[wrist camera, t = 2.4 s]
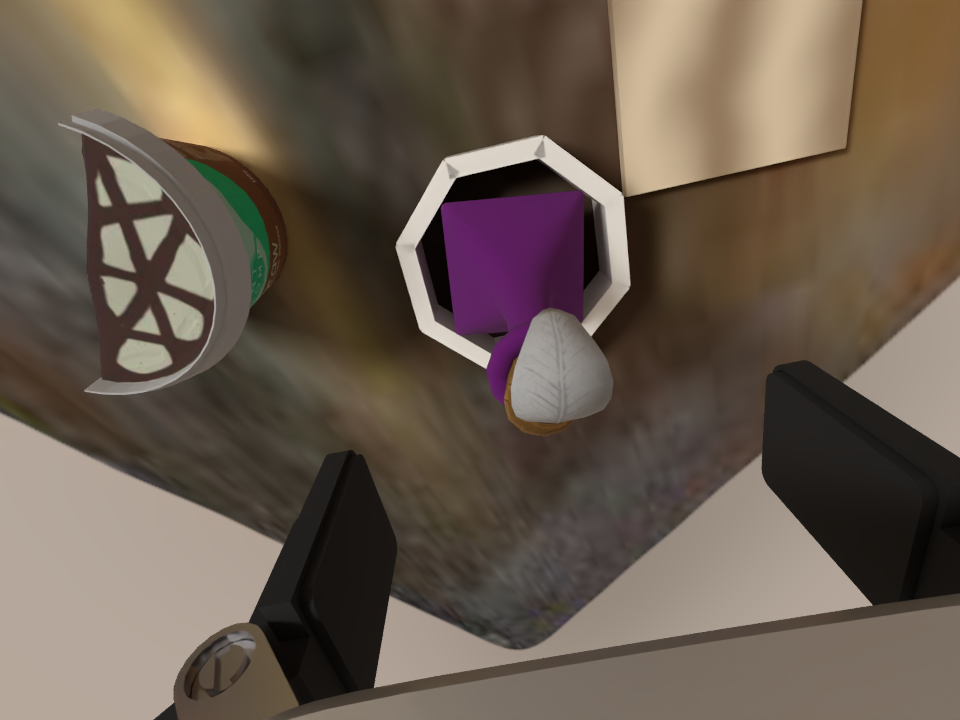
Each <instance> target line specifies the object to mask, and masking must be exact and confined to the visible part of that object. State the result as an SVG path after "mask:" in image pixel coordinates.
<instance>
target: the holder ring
mask: <svg viewBox="0 0 960 720" xmlns="http://www.w3.org/2000/svg"><path fill="white" fill-rule="evenodd" d="M534 159H537V160H538V161H539V162H541V163H542V164H544V165H545V166H546V167H548V168H549V169H550V170H552V171H553V172H555V173H556V174H557V175H559V176H560V177H561V178H563V179H564V180H566V181H567V182H568V183H570V184H571V185H572V186H574V187H575V188H577V189H578V190H579V191H582V192H583V193H584V194H585V195H586V196H588V197H589V198H590V199H592V205H593V215H594V224H595V234H596V243H597V252H598V262H599V271H598V273H597V274H596V275H595V277H594V278H593V279H592V281H591V282H590V283H589V284H588V286H587V287H586V288H585V290H584V291H583V322H582V326H583V327H584V328H585V329H586V331H587V332H588V333H589V335H590V336H592V334H593V333H594V332H595V331H596V330H597V328H598V327H599V326H600V325H601V323H602V322H603V321H604V320H605V318H606V317H607V316H608V315H609V313H610V312H611V311H612V310H613V308H614V307H615V306H616V305H617V303H618V302H619V301H620V300H621V298H622V297H623V296H624V295H625V293H626V292H627V291H628V290H629V287H628V286H630V273H629V260H628V247H627V235H626V222H625V209H624V196H623V195H621V194H622V193H621V192H620V191H618V190H617V189H616V188H614V187H613V186H612V185H610V184H609V183H608V182H606V181H605V180H604V179H602V178H601V177H600V176H598V175H597V174H596V173H594V172H593V171H592V170H590V169H589V168H588V167H586V166H585V165H584V164H582V163H581V162H580V161H578V160H577V159H576V158H574V157H573V156H572V155H570V154H569V153H567V152H566V151H565V150H563V149H562V148H561V147H559V146H558V145H557V144H555V143H554V142H553V141H551V140H550V139H549V138H547V137H546V136H543V135H536V136H531V137H527V138H523V139H519V140H514V141H510V142H506V143H502V144H498V145H493V146H489V147H485V148H481V149H477V150H472V151H468V152H464V153H460V154H456V155H451V156H448V157H446V158H445V159H444V160H443V161H442V163H441V164H440V166H439V168H438V170H437V172H436V173H435V175H434V177H433V179H432V180H431V182H430V184H429V186H428V188H427V189H426V191H425V193H424V195H423V196H422V198H421V200H420V202H419V204H418V205H417V207H416V209H415V211H414V213H413V214H412V216H411V218H410V220H409V221H408V223H407V225H406V227H405V229H404V230H403V232H402V234H401V236H400V237H399V239H398V241H397V243H396V246H395V247H396V250H397V254H398V257H399V261H400V264H401V267H402V271H403V274H404V278H405V281H406V284H407V288H408V291H409V295H410V298H411V302H412V305H413V308H414V312H415V315H416V319H417V322H418V325H419V329H420V330H421V332H423V333H425V334H426V335H428V336H430V337H432V338H433V339H435V340H437V341H439V342H440V343H442V344H444V345H446V346H447V347H449V348H451V349H453V350H454V351H456V352H458V353H460V354H461V355H463V356H465V357H467V358H468V359H470V360H472V361H474V362H475V363H477V364H479V365H481V366H482V367H484V368H487V365H488V362H489V359H490V357H491V354H492V351H493V348H494V346H495V343H496V342H498V341H499V340H500V339H501V338H502V337H503V336H500V337H495V338H494V337H492V336H490V335H489V334H475V335H464V336H461V335H457V333H456V332H455V324H454V315H453V313H452V312H450V311H448V310H447V309H445V308H443V307H442V306H440V305H438V302H437V298H436V295H435V291H434V287H433V283H432V280H431V276H430V272H429V268H428V265H427V261H426V257H425V254H424V250H423V246H422V242H421V238H422V236H423V234H424V232H425V231H426V229H427V227H428V225H429V224H430V222H431V220H432V219H433V217H434V215H435V213H436V212H437V210H438V208H439V207H440V205H441V203H442V201H443V200H444V198H445V196H446V194H447V193H448V191H449V189H450V188H451V186H452V184H453V182H454V181H455V179H456V178H458V177H462V176H466V175H470V174H475V173H479V172H483V171H487V170H492V169H496V168H500V167H505V166H509V165H513V164H517V163H522V162H526V161H530V160H534Z"/></svg>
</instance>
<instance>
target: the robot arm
mask: <svg viewBox="0 0 960 720" xmlns="http://www.w3.org/2000/svg"><path fill="white" fill-rule="evenodd" d="M762 474H763V477H764V480H765V482H766V483H767V485H768V486H769V487H770V488H771V490H772V491H773V492H774V493H775V494H776V495H777V496H778V497H779V499H780V500H781V501H782V502H783V503H784V504H785V506H786V507H787V508H788V509H789V510H790V511H791V512H792V513H793V514H794V516H795V517H796V518H797V519H798V520H799V521H800V523H801V524H802V525H803V526H804V527H805V528H806V529H807V531H808V532H809V533H810V534H811V535H812V536H813V537H814V538H815V540H816V541H817V542H818V543H819V544H820V545H821V547H822V548H823V549H824V550H825V551H826V552H827V553H828V554H829V556H830V557H831V558H832V559H833V560H834V561H835V562H836V564H837V565H838V566H839V567H840V568H841V569H842V570H843V571H844V572H845V574H846V575H847V576H848V577H849V578H850V579H851V580H852V582H853V583H854V584H855V585H856V586H857V587H858V589H859V590H860V591H861V592H862V593H863V594H864V595H865V597H866V598H867V599H868V600H869V601H870V602H871V603H872V605H873V606H867V607H860V608H854V609H848V610H841V611H835V612H829V613H822V614H816V615H809V616H803V617H796V618H790V619H784V620H778V621H771V622H764V623H758V624H752V625H746V626H739V627H732V628H726V629H720V630H714V631H708V632H702V633H695V634H689V635H683V636H677V637H671V638H664V639H658V640H652V641H646V642H639V643H634V644H627V645H621V646H615V647H609V648H603V649H597V650H591V651H584V652H578V653H573V654H566V655H560V656H554V657H548V658H542V659H537V660H530V661H525V662H518V663H513V664H506V665H500V666H495V667H489V668H483V669H477V670H471V671H465V672H459V673H453V674H447V675H441V676H435V677H430V678H425V679H419V680H414V681H409V682H403V683H398V684H393V685H387V686H382V687H376V688H374V683H375V677H376V671H377V665H378V660H379V654H380V648H381V642H382V636H383V630H384V625H385V619H386V612H387V606H388V601H389V595H390V590H391V584H392V578H393V572H394V566H395V560H396V554H397V542H396V537H395V534H394V532H393V529H392V527H391V524H390V522H389V519H388V517H387V514H386V512H385V509H384V507H383V504H382V502H381V499H380V497H379V494H378V492H377V489H376V487H375V484H374V482H373V479H372V476H371V474H370V471H369V469H368V466H367V464H366V461H365V459H364V457H363V456H362V455H361V454H359V455H356V454H355V452H354V451H352V450H348V451H343V452H338V453H333V454H329V455H327V456H326V457H325V459H324V462H323V464H322V466H321V468H320V471H319V473H318V475H317V477H316V480H315V482H314V484H313V486H312V488H311V491H310V493H309V495H308V497H307V500H306V502H305V504H304V506H303V508H302V511H301V513H300V515H299V517H298V519H296V521H295V523H294V524H293V526H292V528H291V530H290V533H289V535H288V537H287V539H286V541H285V544H284V546H283V548H282V550H281V553H280V555H279V557H278V559H277V561H276V563H275V566H274V568H273V570H272V572H271V574H270V577H269V579H268V581H267V584H266V585H265V588H264V590H263V592H262V594H261V596H260V599H259V601H258V603H257V605H256V607H255V610H254V612H253V614H252V616H251V619H250V621H249V623H239V624H234V625H232V626H229V627H227V628H224V629H222V630H220V631H219V632H217V633H216V634H214V635H212V636H210V637H209V638H208V639H207V640H206V641H205V642H203V643H202V644H201V645H200V646H199V647H198V648H197V649H196V650H195V651H194V652H193V653H192V654H191V656H190V657H189V658H188V659H187V660H186V662H185V664H184V665H183V667H182V668H181V670H180V672H179V673H178V676H177V679H176V682H175V685H174V703H173V704H172V705H171V706H170V707H168V708H167V709H166V710H165V711H164V712H162V713H161V714H160V715H159V716H158V717H156V718H155V719H154V720H960V458H959V457H958V456H956V455H955V454H953V453H952V452H950V451H948V450H947V449H945V448H944V447H942V446H941V445H939V444H937V443H936V442H934V441H933V440H931V439H930V438H928V437H927V436H925V435H923V434H922V433H920V432H919V431H917V430H916V429H914V428H912V427H911V426H909V425H908V424H906V423H905V422H903V421H901V420H900V419H898V418H897V417H895V416H893V415H892V414H890V413H889V412H887V411H886V410H884V409H882V408H881V407H879V406H878V405H876V404H875V403H873V402H872V401H870V400H869V399H867V398H865V397H864V396H862V395H861V394H859V393H858V392H856V391H854V390H853V389H851V388H850V387H848V386H847V385H845V384H844V383H842V382H840V381H839V380H837V379H836V378H834V377H833V376H831V375H829V374H828V373H826V372H825V371H823V370H822V369H820V368H819V367H817V366H815V365H814V364H812V363H811V362H809V361H806V360H804V361H798V362H793V363H788V364H782V365H778V366H776V367H775V368H774V370H773V373H771V374H769V375H768V376H767V379H766V393H765V413H764V432H763V451H762Z"/></svg>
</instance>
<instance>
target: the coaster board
mask: <svg viewBox="0 0 960 720" xmlns="http://www.w3.org/2000/svg"><path fill="white" fill-rule="evenodd" d="M607 1H608V14H609V27H610V39H611V52H612V65H613V77H614V90H615V103H616V115H617V128H618V141H619V153H620V166H621V179H622V191H623V196H626V197H629V196H633V195H638V194H642V193H647V192H651V191H656V190H660V189H665V188H669V187H673V186H678V185H682V184H687V183H691V182H696V181H700V180H705V179H709V178H714V177H718V176H723V175H727V174H731V173H736V172H740V171H745V170H749V169H754V168H758V167H763V166H767V165H772V164H776V163H780V162H785V161H789V160H794V159H798V158H803V157H807V156H812V155H816V154H821V153H825V152H830V151H834V150H838V149H843V148H846V141H847V133H848V124H849V115H850V106H851V97H852V89H853V80H854V71H855V62H856V53H857V45H858V36H859V27H860V18H861V10H862V1H863V0H607Z"/></svg>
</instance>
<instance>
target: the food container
mask: <svg viewBox="0 0 960 720" xmlns="http://www.w3.org/2000/svg"><path fill="white" fill-rule="evenodd" d="M72 121H73V122H59V123H58V124H59V125H60V126H63V127H65V128H68V129H71V130H74V131H77V132H79V133H82V154H83V158H84V162H85V169H86V179H87V195H88V231H87V275H88V281H89V287H90V292H91V297H92V301H93V305H94V309H95V314H96V320H97V325H98V337H99V349H100V362H101V378H99V379H98V380H97V381H96V382H94V383H93V384H92V385H90V386H89V387H88V388H87V389H85V392H91V393H98V394H110V395H126V394H135V393H143V392H147V391H155V390H158V389H162V388H166V387H169V386H173V385H175V384H177V383H179V382H181V381H184V380H186V379H188V378H190V377H193V376H195V375H197V374H199V373H201V372H203V371H205V370H207V369H209V368H210V367H212V366H213V365H215V364H216V363H217V362H219V361H220V360H221V359H223V357H224V356H225V355H226V354H227V353H228V352H229V351H230V350H231V349H232V348H233V347H234V345H235V343H236V342H237V340H238V338H239V337H240V335H241V334H242V332H243V329H244V326H245V324H246V321H247V318H248V315H249V309H250V308H251V307H252V306H253V305H254V303H255V302H256V301H257V300H258V299H259V298H260V297H261V296H262V295H263V294H264V293H265V292H266V291H267V290H268V289H269V287H270V286H271V285H272V284H273V283H274V282H275V281H276V280H277V279H278V278H279V275H280V273H281V271H282V269H283V266H284V264H285V261H286V255H287V233H286V227H285V223H284V220H283V217H282V214H281V212H280V210H279V208H278V206H277V203H276V201H275V200H274V198H273V197H272V195H271V194H270V192H269V191H268V189H267V188H266V187H265V186H264V185H263V183H262V182H261V181H260V180H259V179H258V178H257V177H256V176H255V175H254V174H253V173H252V172H251V171H250V170H249V169H247V168H246V167H245V166H243V165H242V164H241V163H239V162H238V161H236V160H235V159H233V158H231V157H229V156H228V155H226V154H224V153H222V152H220V151H217V150H214V149H211V148H208V147H206V146H201V145H195V144H190V143H184V142H179V141H173V140H168V139H162V138H158V137H156V136H155V135H154V134H152V133H151V132H149V131H147V130H145V129H143V128H142V127H140V126H138V125H136V124H134V123H132V122H130V121H128V120H126V119H124V118H122V117H119V116H116V115H114V114H111V113H108V112H105V111H103V110H100V109H97V110H93V111H88V112H84V113H79V114H75V115H72Z"/></svg>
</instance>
